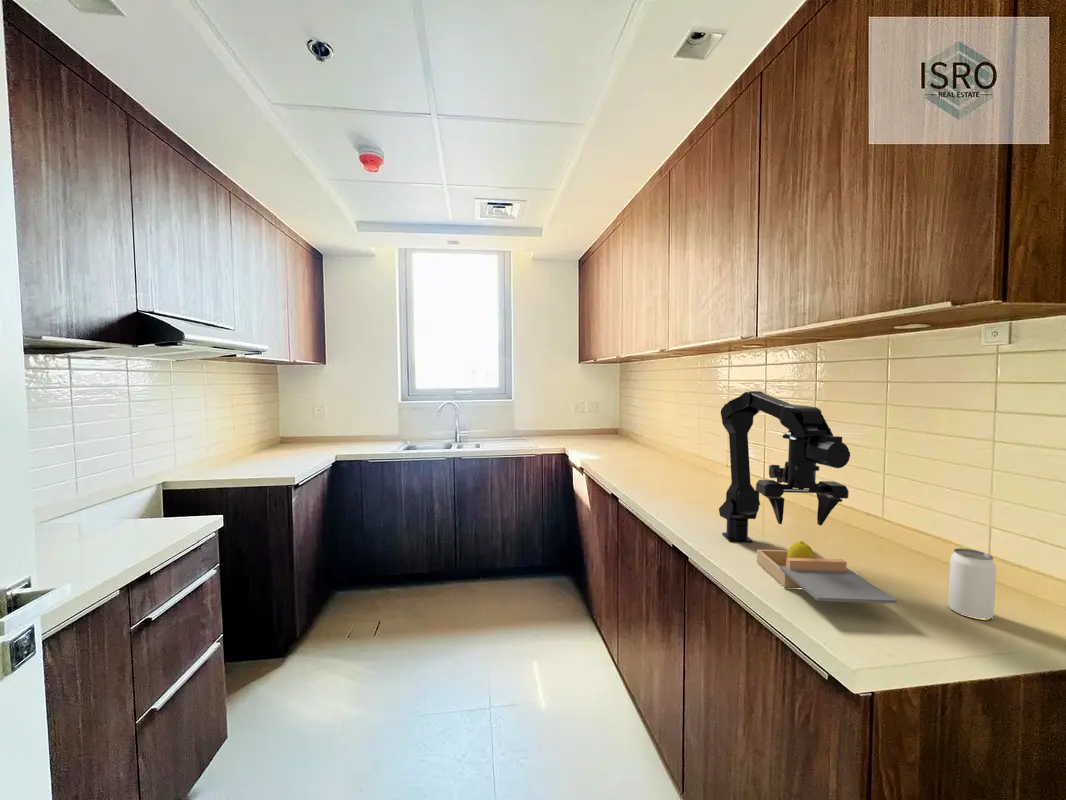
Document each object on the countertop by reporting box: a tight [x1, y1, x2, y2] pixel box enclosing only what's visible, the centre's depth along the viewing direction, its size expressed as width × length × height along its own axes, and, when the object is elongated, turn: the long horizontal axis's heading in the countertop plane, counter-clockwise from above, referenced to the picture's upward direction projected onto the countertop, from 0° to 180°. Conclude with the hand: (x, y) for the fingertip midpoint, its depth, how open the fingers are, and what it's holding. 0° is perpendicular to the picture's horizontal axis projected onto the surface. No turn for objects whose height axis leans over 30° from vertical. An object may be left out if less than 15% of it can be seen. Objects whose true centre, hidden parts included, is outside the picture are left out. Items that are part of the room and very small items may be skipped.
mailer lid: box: [780, 558, 898, 604], centre depth 93 cm, size 15×15×3 cm
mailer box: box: [756, 549, 827, 590], centre depth 106 cm, size 14×14×4 cm
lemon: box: [787, 540, 815, 559], centre depth 106 cm, size 6×6×8 cm
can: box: [948, 548, 997, 619], centre depth 89 cm, size 6×6×12 cm
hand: (799, 524), depth 107 cm, fingers open, 9 cm apart
